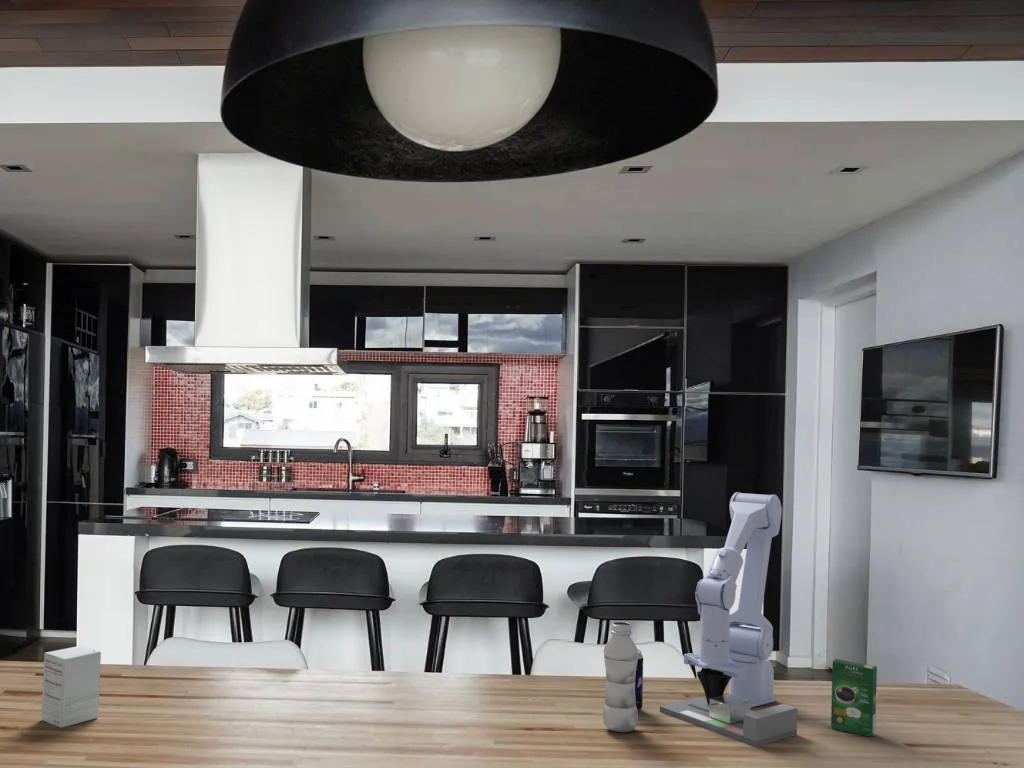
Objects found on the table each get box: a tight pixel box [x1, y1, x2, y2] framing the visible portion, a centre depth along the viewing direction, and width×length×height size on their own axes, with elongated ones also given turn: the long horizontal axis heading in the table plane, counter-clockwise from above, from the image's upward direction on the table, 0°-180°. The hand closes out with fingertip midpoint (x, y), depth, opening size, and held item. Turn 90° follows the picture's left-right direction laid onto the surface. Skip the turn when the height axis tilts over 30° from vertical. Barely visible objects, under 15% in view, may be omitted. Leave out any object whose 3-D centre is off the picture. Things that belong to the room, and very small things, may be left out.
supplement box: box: [41, 645, 102, 729], centre depth 166 cm, size 7×7×13 cm
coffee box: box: [830, 658, 878, 738], centre depth 170 cm, size 8×3×13 cm, turn 54°
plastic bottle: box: [602, 621, 639, 733], centre depth 168 cm, size 6×7×20 cm
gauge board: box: [659, 696, 798, 748], centre depth 173 cm, size 12×24×5 cm, turn 37°
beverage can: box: [635, 648, 644, 713], centre depth 180 cm, size 6×6×12 cm
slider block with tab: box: [706, 693, 751, 724], centre depth 172 cm, size 10×5×4 cm, turn 127°
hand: (713, 708), depth 176 cm, fingers closed
